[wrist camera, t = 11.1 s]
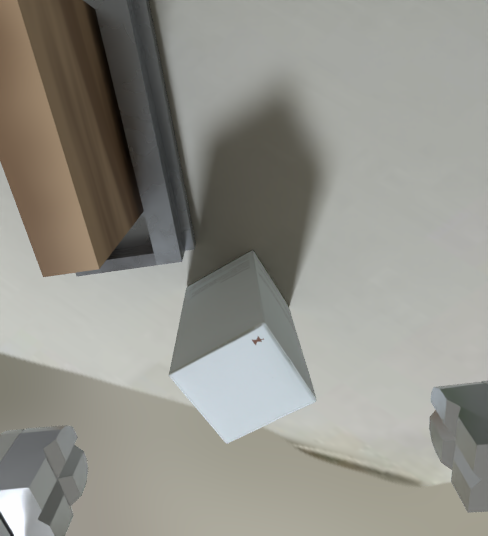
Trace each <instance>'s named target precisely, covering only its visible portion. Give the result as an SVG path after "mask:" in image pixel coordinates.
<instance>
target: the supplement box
mask: <svg viewBox="0 0 488 536" xmlns="http://www.w3.org/2000/svg"><path fill="white" fill-rule="evenodd" d="M169 377H170V378H171V379H172V380H173V381H174V383H175V384H176V385H177V386H178V387H179V388H180V390H181V391H182V392H183V393H184V394H185V395H186V397H187V398H188V399H189V400H190V401H191V403H192V404H193V405H194V406H195V407H196V409H197V410H198V411H199V412H200V413H201V414H202V416H203V417H204V418H205V419H206V420H207V421H208V423H209V424H210V425H211V426H212V427H213V429H214V430H215V431H216V432H217V433H218V435H219V436H220V437H221V438H222V439H223V440H224V442H225V443H230V442H232V441H234V440H236V439H238V438H240V437H242V436H244V435H247V434H248V433H251V432H253V431H254V430H257V429H259V428H261V427H263V426H265V425H267V424H269V423H271V422H273V421H275V420H277V419H279V418H281V417H283V416H285V415H288V414H290V413H292V412H294V411H297V410H299V409H301V408H303V407H305V406H307V405H310V404H312V403H314V402H316V396H315V393H314V389H313V385H312V382H311V378H310V375H309V372H308V368H307V365H306V362H305V359H304V356H303V352H302V349H301V346H300V343H299V339H298V336H297V333H296V330H295V326H294V323H293V319H292V316H291V312H290V309H289V307H288V305H287V304H286V302H285V300H284V298H283V297H282V295H281V294H280V292H279V290H278V289H277V287H276V286H275V284H274V282H273V281H272V279H271V278H270V276H269V275H268V273H267V271H266V270H265V268H264V267H263V265H262V263H261V262H260V260H259V259H258V257H257V256H256V254H255V252H254V251H250V252H248V253H247V254H245V255H243V256H241V257H239V258H238V259H236V260H234V261H232V262H231V263H229V264H227V265H225V266H223V267H222V268H220V269H218V270H216V271H214V272H213V273H211V274H209V275H207V276H206V277H204V278H202V279H201V280H199V281H197V282H195V283H193V284H192V285H190V286H188V287H187V288H186V293H185V298H184V302H183V308H182V312H181V318H180V322H179V328H178V332H177V337H176V343H175V347H174V352H173V358H172V362H171V367H170V372H169Z"/></svg>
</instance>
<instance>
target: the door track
mask: <svg viewBox="0 0 488 536" xmlns="http://www.w3.org/2000/svg"><path fill="white" fill-rule="evenodd" d="M83 1H85V2H86V3H87V4H89V5H90V6H92V7H93V8H94V9H95V11H96V15H97V19H98V24H99V28H100V32H101V36H102V40H103V44H104V48H105V53H106V57H107V61H108V65H109V69H110V73H111V77H112V82H113V86H114V90H115V94H116V98H117V102H118V106H119V111H120V115H121V119H122V123H123V127H124V131H125V135H126V140H127V144H128V148H129V152H130V156H131V160H132V164H133V169H134V173H135V177H136V181H137V185H138V189H139V193H140V198H141V202H142V206H143V210H144V212H143V213H142V214H141V216H140V217H139V218H138V219H137V221H136V222H135V223H134V225H133V226H132V227H131V229H130V230H129V231H128V232H127V234H126V235H125V236H124V238H123V239H122V240H121V242H120V243H119V244H118V245H117V247H116V248H115V249H114V251H113V252H112V253H111V255H110V256H109V257H108V258H107V260H106V261H105V262H104V264H103V265H102V266H101V268H100V269H97V270H90V271H83V272H76V275H77V276H83V275H90V274H97V273H104V272H111V271H118V270H125V269H132V268H140V267H147V266H154V265H161V264H168V263H175V262H182V259H183V256H184V252H185V251H186V250H193V249H195V244H196V243H195V237H194V232H193V227H192V222H191V217H190V212H189V206H188V201H187V196H186V191H185V186H184V181H183V175H182V170H181V165H180V160H179V155H178V150H177V144H176V139H175V134H174V129H173V124H172V119H171V113H170V108H169V103H168V98H167V93H166V87H165V82H164V77H163V72H162V67H161V62H160V56H159V51H158V46H157V41H156V36H155V31H154V25H153V20H152V15H151V10H150V5H149V0H83Z"/></svg>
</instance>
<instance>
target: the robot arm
mask: <svg viewBox="0 0 488 536" xmlns="http://www.w3.org/2000/svg"><path fill="white" fill-rule="evenodd" d="M431 402H432V404H433V406H434V408H435V409H436V410H435V412H434V413H433V414H432V415H431V416H430V425H429V429H430V434H431V440H432V443H433V446H434V449H435V451H436V453H437V455H438V457H439V459H440V461H441V463H443V464H444V465H446V466H447V467H448V468H450V469H451V470H452V478H451V482H452V484H453V486H454V487H455V489H456V491H457V493H458V495H459V497H460V499H461V501H462V503H463V504H464V506H465V508H466V510H467V512H484V511H488V381H482V382H474V383H465V384H457V385H448V386H439V387H434V388H433V390H432V393H431ZM77 438H78V437H77V435H76V433H75V431H74V429H73V427H72V426H67V425H66V426H53V427H40V428H27V429H21V430H7V431H5V432H3V433H1V434H0V536H65V534H66V532H67V529H68V527H69V524H70V522H71V520H72V517H73V513H72V509H71V505H72V504H73V503H74V502H75V501H76V500H77V499H78V498H79V497H80V496H82V493H83V490H84V488H85V485H86V482H87V474H88V465H87V458H86V456H85V453H84V451H83V450H81V449H80V448H78V447H77V446H75V445H74V444H75V442H76V440H77Z"/></svg>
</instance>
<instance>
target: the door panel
mask: <svg viewBox="0 0 488 536" xmlns="http://www.w3.org/2000/svg"><path fill="white" fill-rule="evenodd" d="M0 161H1V164H2V167H3V169H4V172H5V175H6V178H7V180H8V183H9V186H10V188H11V191H12V194H13V196H14V199H15V202H16V205H17V207H18V210H19V213H20V215H21V218H22V221H23V224H24V226H25V229H26V232H27V234H28V237H29V240H30V243H31V245H32V248H33V251H34V253H35V256H36V259H37V261H38V264H39V267H40V270H41V272H42V275H43V277H47V276H54V275H61V274H69V273H76V272H83V271H90V270H97V269H100V268H101V266H102V265H103V264H104V262H105V261H106V260H107V258H108V257H109V256H110V255H111V253H112V252H113V251H114V249H115V248H116V247H117V245H118V244H119V243H120V242H121V240H122V239H123V238H124V236H125V235H126V234H127V232H128V231H129V230H130V229H131V227H132V226H133V225H134V223H135V222H136V221H137V219H138V218H139V217H140V216H141V214H142V213H143V212H144V210H143V206H142V202H141V198H140V193H139V189H138V185H137V181H136V177H135V173H134V169H133V164H132V160H131V156H130V152H129V148H128V144H127V140H126V135H125V131H124V127H123V123H122V119H121V115H120V111H119V106H118V102H117V98H116V94H115V90H114V86H113V82H112V77H111V73H110V69H109V65H108V61H107V57H106V53H105V48H104V44H103V40H102V36H101V32H100V28H99V24H98V19H97V15H96V11H95V9H94V8H93V7H92V6H90V5H89V4H87V3H86V2H85V1H83V0H0Z"/></svg>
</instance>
